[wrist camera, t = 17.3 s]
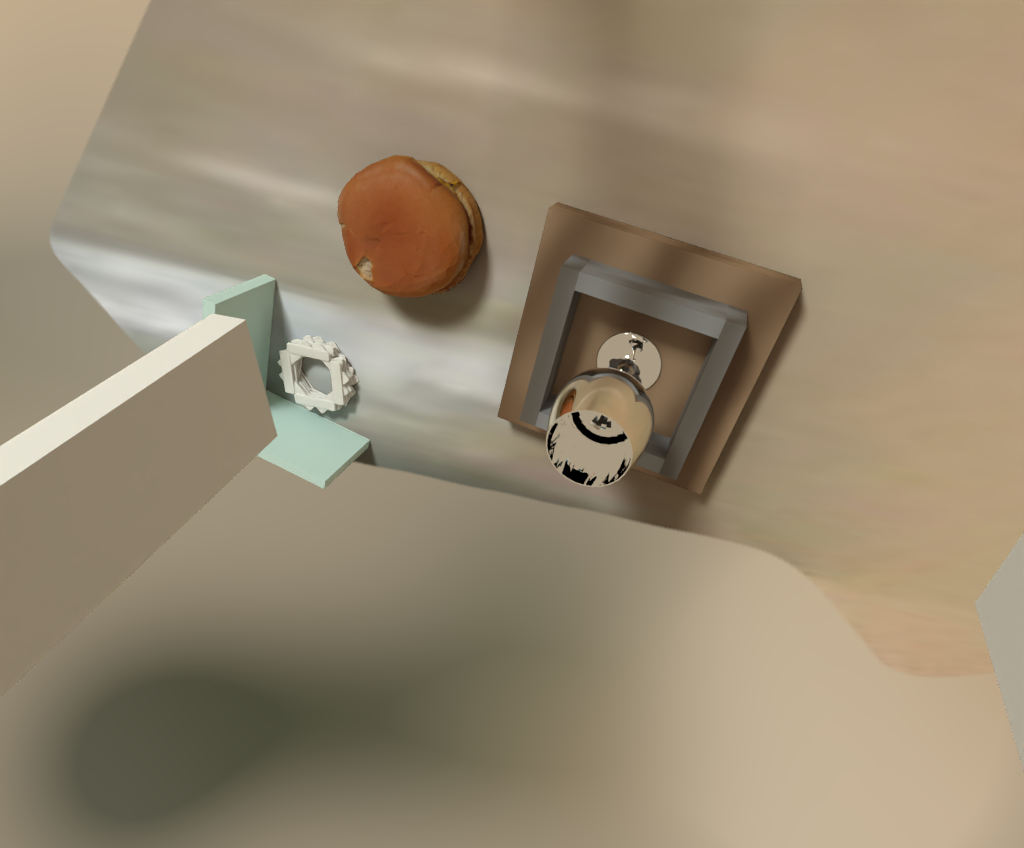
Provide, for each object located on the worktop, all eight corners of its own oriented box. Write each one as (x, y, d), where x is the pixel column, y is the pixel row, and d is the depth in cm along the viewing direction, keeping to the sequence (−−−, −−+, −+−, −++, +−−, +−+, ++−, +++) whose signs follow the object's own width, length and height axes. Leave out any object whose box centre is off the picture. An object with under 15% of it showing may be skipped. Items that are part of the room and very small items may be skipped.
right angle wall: (371, 444, 58) (324, 489, 51) (259, 390, 59) (200, 427, 53) (396, 329, 51) (344, 365, 45) (269, 272, 53) (203, 298, 46)
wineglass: (653, 413, 44) (621, 512, 34) (576, 383, 45) (523, 470, 35) (685, 340, 41) (661, 426, 31) (602, 309, 42) (552, 382, 32)
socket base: (800, 279, 39) (805, 303, 35) (702, 479, 47) (696, 518, 43) (557, 202, 42) (534, 216, 38) (506, 405, 50) (483, 435, 46)
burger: (504, 197, 43) (478, 209, 39) (456, 311, 48) (428, 331, 44) (381, 125, 43) (344, 130, 40) (347, 245, 49) (310, 260, 45)
